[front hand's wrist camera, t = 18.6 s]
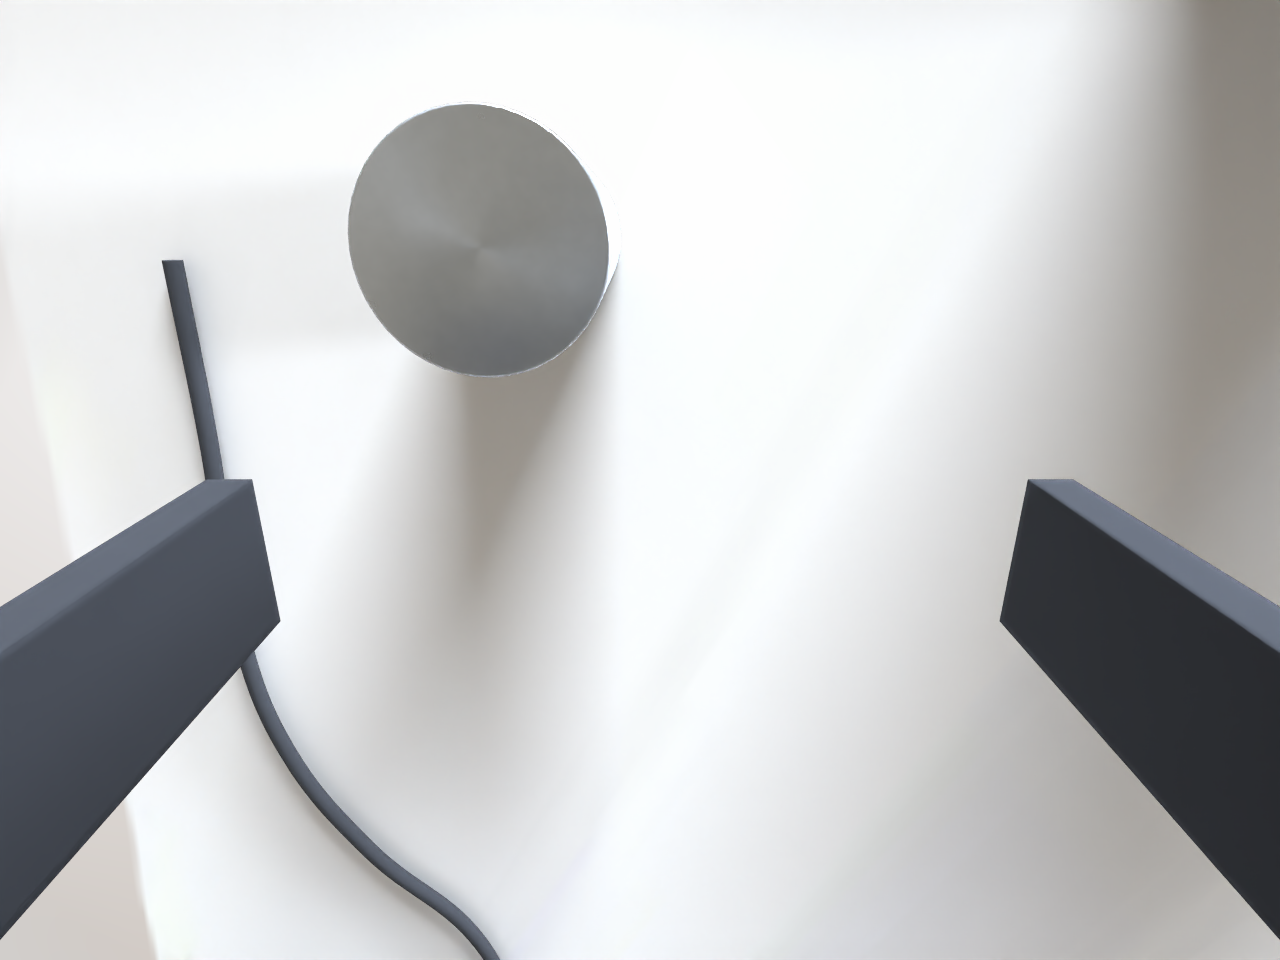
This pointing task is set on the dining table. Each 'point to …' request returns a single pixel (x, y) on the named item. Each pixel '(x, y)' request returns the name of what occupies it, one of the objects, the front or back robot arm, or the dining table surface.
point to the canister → (481, 239)
